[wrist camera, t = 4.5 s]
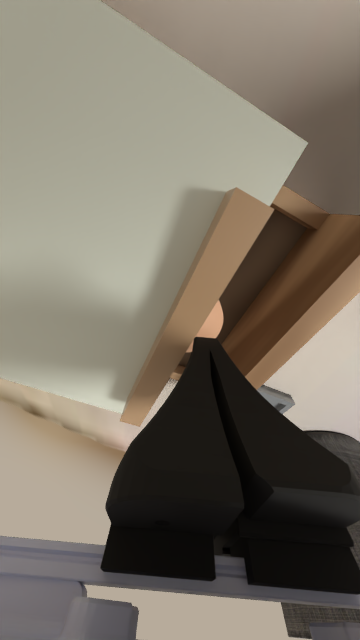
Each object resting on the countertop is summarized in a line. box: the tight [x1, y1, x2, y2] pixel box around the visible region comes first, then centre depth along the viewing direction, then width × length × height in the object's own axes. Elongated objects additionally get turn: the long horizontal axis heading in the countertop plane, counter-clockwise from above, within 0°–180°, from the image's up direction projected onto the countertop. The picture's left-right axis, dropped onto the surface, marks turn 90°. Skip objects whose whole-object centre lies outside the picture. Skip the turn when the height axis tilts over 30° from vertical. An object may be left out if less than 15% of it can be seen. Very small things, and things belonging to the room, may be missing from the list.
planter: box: [281, 432, 360, 639], centre depth 25 cm, size 18×18×16 cm
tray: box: [257, 385, 295, 414], centre depth 24 cm, size 10×10×1 cm
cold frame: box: [170, 185, 360, 390], centre depth 13 cm, size 29×19×6 cm, turn 66°
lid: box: [0, 0, 308, 427], centre depth 9 cm, size 15×19×2 cm
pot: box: [186, 300, 223, 353], centre depth 14 cm, size 5×5×5 cm
